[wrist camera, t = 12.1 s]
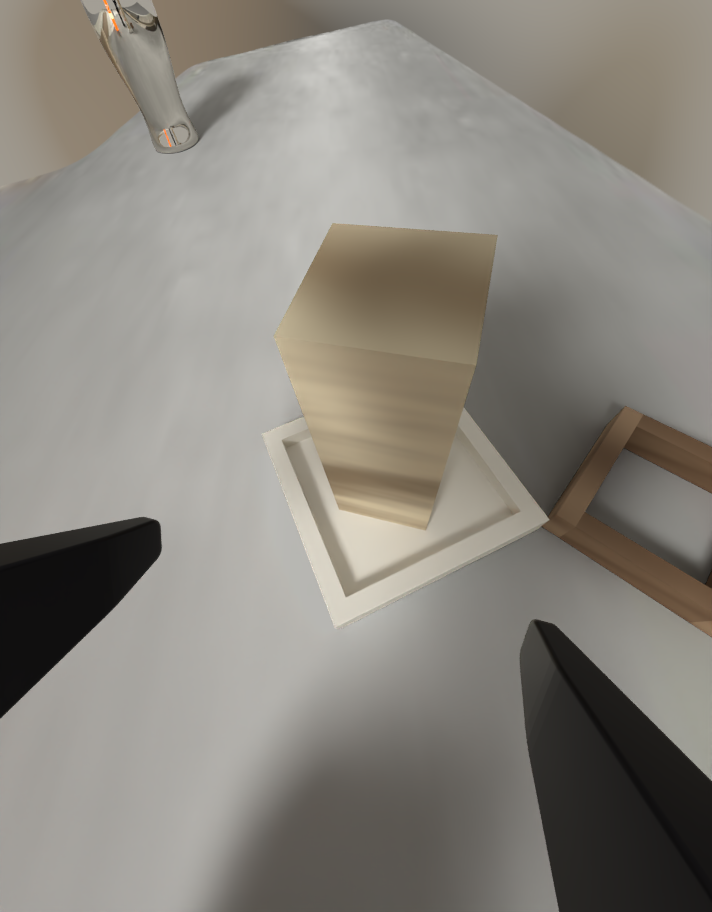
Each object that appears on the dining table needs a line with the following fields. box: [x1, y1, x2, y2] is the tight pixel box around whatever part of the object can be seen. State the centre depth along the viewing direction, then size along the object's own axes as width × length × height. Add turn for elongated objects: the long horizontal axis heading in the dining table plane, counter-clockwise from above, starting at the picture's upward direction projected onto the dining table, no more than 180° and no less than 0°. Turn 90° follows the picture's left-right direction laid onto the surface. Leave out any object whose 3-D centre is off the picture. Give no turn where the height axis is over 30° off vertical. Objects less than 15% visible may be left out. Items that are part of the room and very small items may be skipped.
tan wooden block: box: [274, 223, 498, 531], centre depth 15 cm, size 5×5×13 cm
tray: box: [262, 407, 549, 629], centre depth 21 cm, size 12×12×2 cm
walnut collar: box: [542, 406, 712, 637], centre depth 19 cm, size 8×8×2 cm
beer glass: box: [81, 0, 199, 153], centre depth 42 cm, size 7×7×15 cm
